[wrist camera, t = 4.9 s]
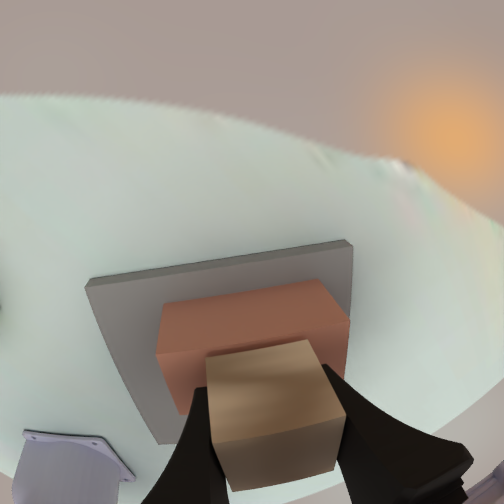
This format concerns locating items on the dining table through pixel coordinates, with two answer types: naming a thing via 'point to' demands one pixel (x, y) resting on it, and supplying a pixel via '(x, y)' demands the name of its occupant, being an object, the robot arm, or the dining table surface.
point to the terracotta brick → (247, 331)
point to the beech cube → (273, 415)
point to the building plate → (187, 288)
